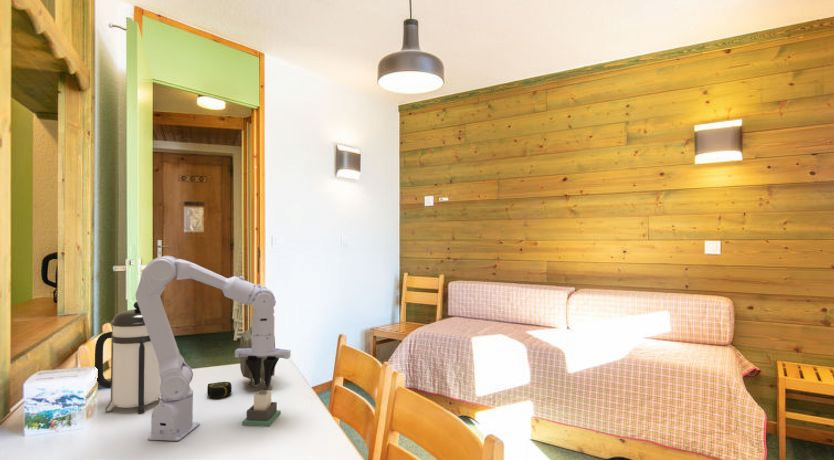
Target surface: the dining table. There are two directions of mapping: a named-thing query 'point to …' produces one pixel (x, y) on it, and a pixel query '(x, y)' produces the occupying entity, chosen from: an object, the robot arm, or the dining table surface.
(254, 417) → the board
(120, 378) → the coffee press
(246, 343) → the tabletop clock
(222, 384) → the tape measure
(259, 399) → the plug
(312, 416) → the dining table surface
